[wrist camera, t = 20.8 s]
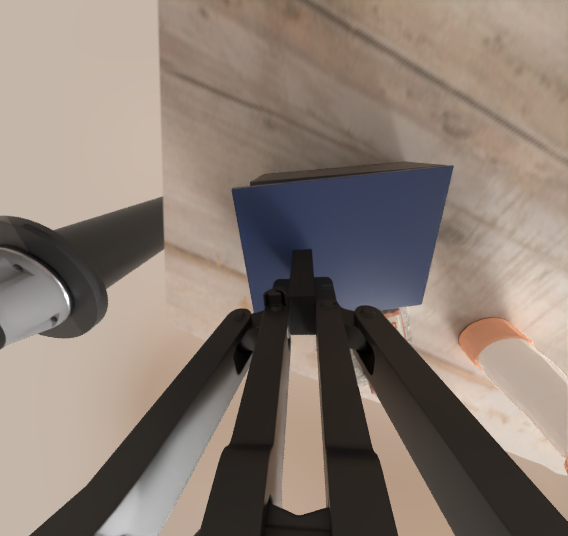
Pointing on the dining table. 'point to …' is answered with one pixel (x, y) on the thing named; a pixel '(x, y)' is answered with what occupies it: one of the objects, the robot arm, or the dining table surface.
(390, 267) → the cover
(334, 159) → the dining table surface
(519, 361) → the pepper shaker
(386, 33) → the dining table surface
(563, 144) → the dining table surface
